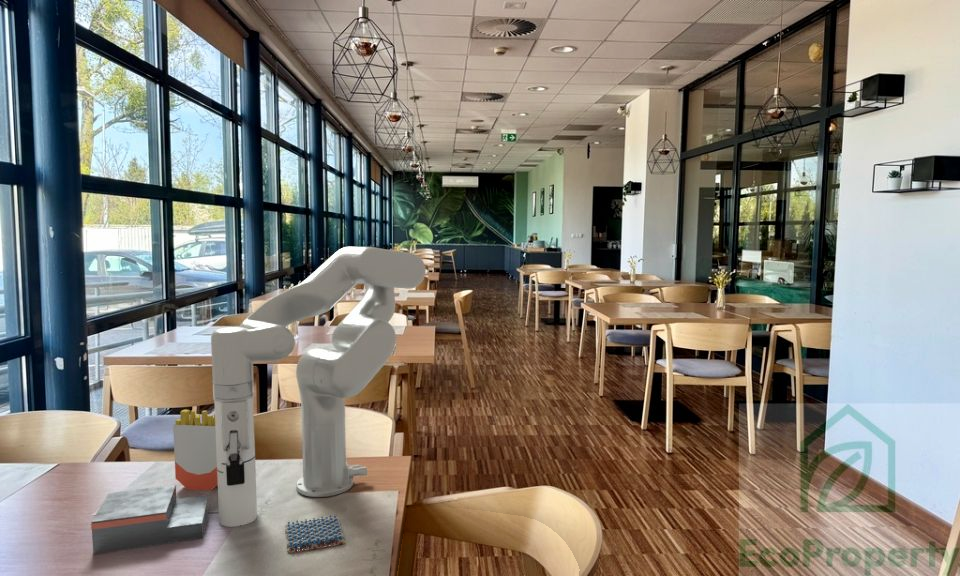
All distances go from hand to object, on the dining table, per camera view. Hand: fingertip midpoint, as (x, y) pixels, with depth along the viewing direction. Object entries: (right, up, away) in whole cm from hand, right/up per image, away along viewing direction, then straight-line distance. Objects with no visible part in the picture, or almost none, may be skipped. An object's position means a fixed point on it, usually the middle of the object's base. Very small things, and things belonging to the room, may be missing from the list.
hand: (236, 476), depth 124 cm
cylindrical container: (0, -9, +1) cm, 9 cm away
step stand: (-14, -9, -4) cm, 17 cm away
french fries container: (-14, -8, +17) cm, 23 cm away
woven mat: (+17, -10, -6) cm, 21 cm away
